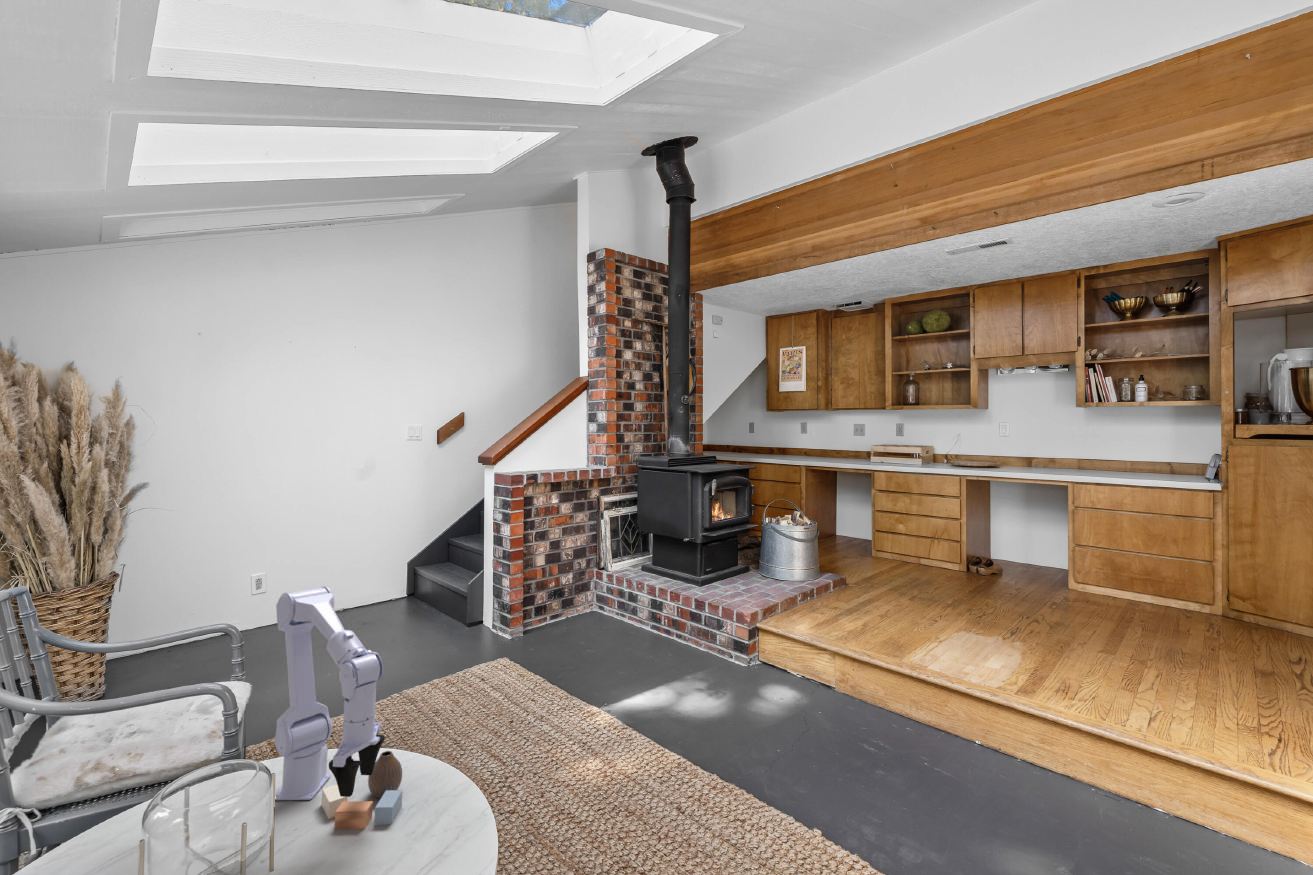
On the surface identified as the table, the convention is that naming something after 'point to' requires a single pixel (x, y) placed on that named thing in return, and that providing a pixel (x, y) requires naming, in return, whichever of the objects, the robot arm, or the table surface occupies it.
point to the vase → (385, 775)
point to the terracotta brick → (353, 815)
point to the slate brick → (388, 807)
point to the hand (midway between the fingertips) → (356, 784)
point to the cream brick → (331, 800)
